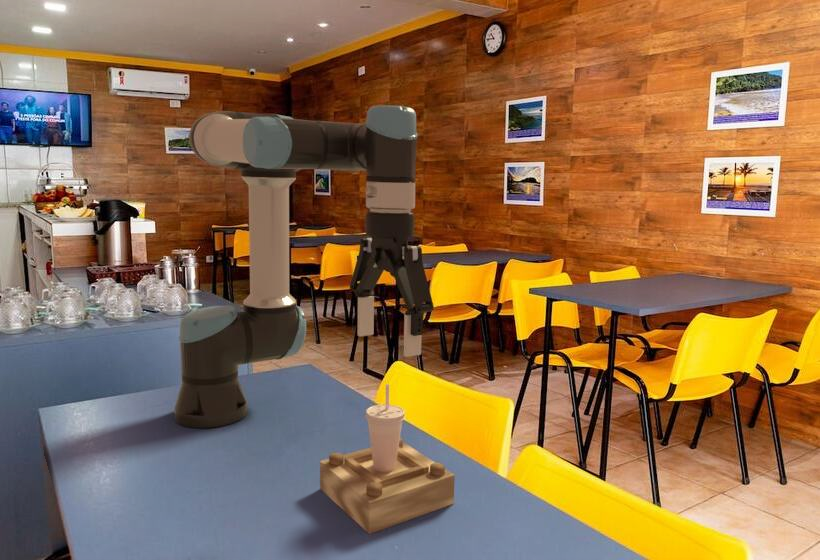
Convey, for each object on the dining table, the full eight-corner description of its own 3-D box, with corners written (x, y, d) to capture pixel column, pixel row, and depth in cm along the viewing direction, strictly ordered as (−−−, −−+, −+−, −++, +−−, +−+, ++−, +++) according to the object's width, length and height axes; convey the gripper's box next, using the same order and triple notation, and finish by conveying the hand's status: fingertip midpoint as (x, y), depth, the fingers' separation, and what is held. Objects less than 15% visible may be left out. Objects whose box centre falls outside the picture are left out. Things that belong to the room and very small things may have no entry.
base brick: (320, 488, 105) (320, 454, 104) (398, 465, 114) (399, 433, 113) (369, 534, 92) (370, 495, 91) (453, 503, 101) (454, 467, 100)
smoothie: (410, 464, 104) (412, 383, 102) (390, 479, 98) (392, 395, 96) (378, 454, 107) (379, 376, 105) (357, 469, 102) (357, 387, 99)
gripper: (330, 206, 103) (329, 330, 107) (417, 216, 83) (413, 369, 87) (368, 205, 108) (367, 325, 111) (461, 215, 88) (455, 361, 91)
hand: (387, 344), depth 99 cm, fingers open, 13 cm apart
